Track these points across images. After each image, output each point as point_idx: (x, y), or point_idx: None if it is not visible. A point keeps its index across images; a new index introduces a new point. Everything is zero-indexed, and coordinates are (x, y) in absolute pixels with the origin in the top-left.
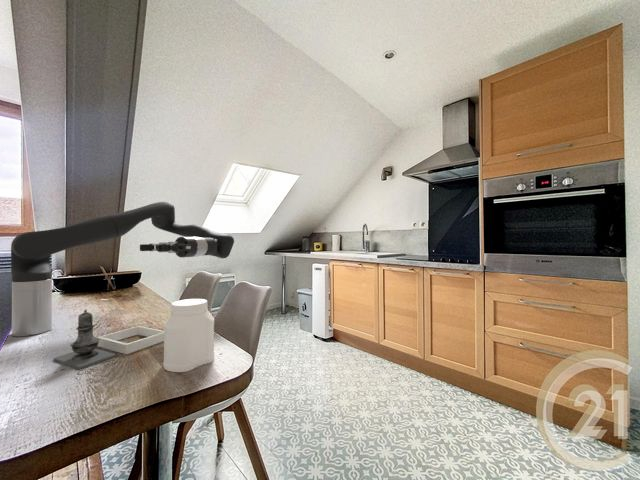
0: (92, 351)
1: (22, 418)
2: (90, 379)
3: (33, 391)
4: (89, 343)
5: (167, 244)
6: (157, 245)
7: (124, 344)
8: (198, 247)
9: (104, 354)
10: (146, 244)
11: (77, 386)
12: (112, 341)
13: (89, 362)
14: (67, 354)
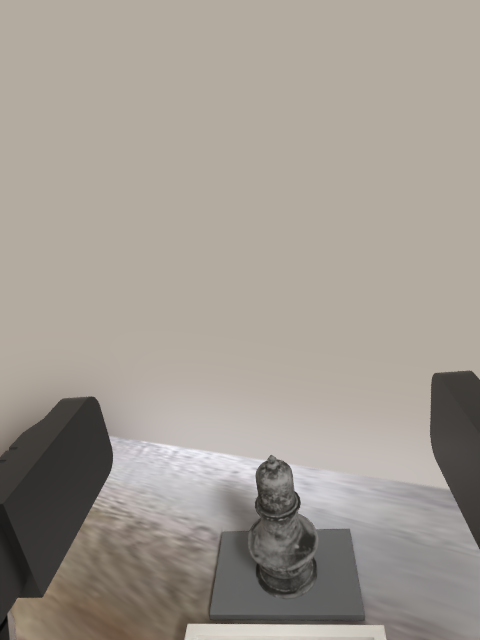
0: (288, 583)
1: (142, 451)
2: (151, 526)
3: (209, 473)
4: (252, 534)
5: (3, 497)
6: (90, 400)
7: (199, 624)
8: None
9: (243, 598)
10: (460, 411)
11: (150, 506)
12: (272, 624)
13: (225, 552)
14: (347, 553)
